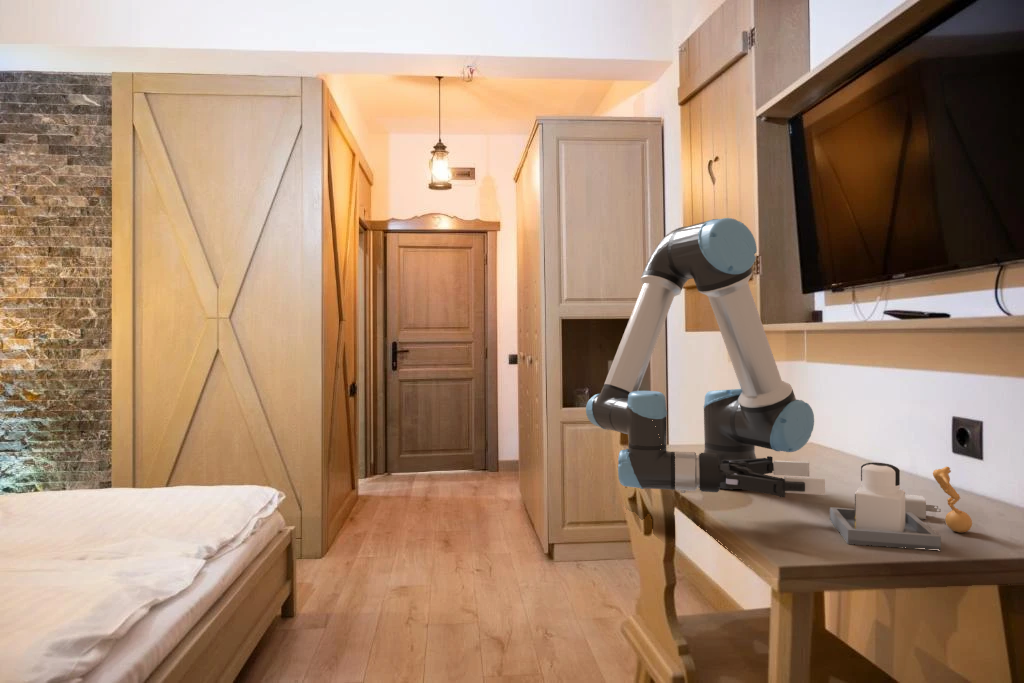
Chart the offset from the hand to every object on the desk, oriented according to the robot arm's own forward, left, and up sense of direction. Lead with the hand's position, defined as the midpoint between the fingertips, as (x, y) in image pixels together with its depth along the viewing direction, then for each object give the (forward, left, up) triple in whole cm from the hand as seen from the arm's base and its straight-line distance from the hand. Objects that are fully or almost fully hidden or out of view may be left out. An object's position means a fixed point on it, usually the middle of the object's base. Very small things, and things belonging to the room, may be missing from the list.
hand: (816, 477), depth 113 cm
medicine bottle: (0, +11, -9) cm, 14 cm away
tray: (0, +11, -10) cm, 14 cm away
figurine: (-5, +24, -10) cm, 26 cm away
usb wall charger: (-13, +21, -10) cm, 27 cm away
